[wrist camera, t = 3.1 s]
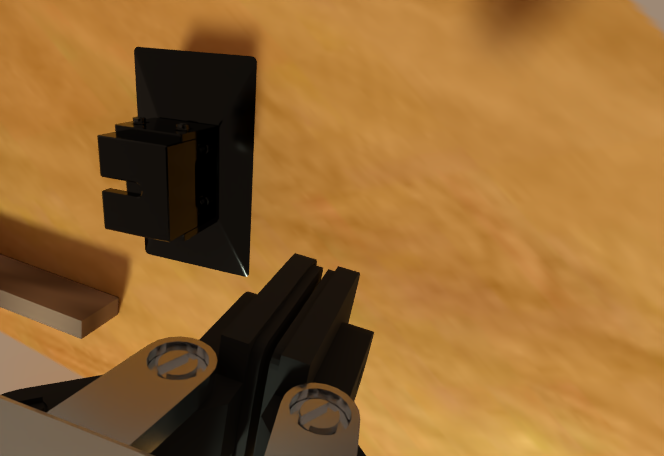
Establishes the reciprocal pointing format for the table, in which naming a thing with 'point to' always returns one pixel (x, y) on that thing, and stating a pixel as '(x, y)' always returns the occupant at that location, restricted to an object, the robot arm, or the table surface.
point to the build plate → (186, 158)
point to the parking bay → (53, 299)
